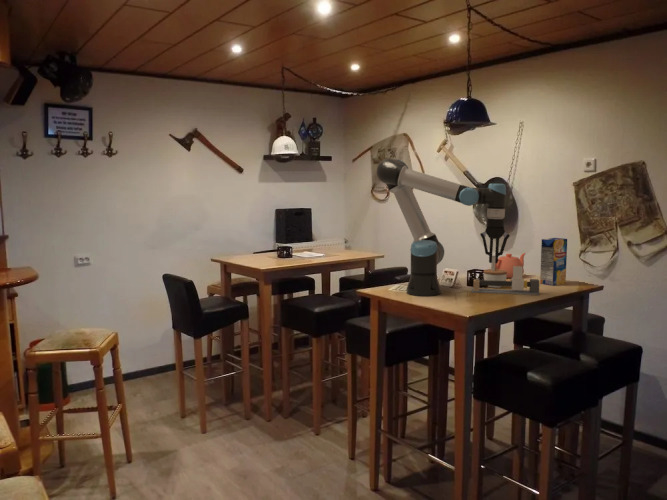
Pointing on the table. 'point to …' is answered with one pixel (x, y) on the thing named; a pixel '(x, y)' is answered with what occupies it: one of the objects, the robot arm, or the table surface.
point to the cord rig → (532, 284)
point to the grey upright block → (517, 278)
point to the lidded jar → (495, 276)
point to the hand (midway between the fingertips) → (492, 270)
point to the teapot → (509, 263)
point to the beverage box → (553, 261)
